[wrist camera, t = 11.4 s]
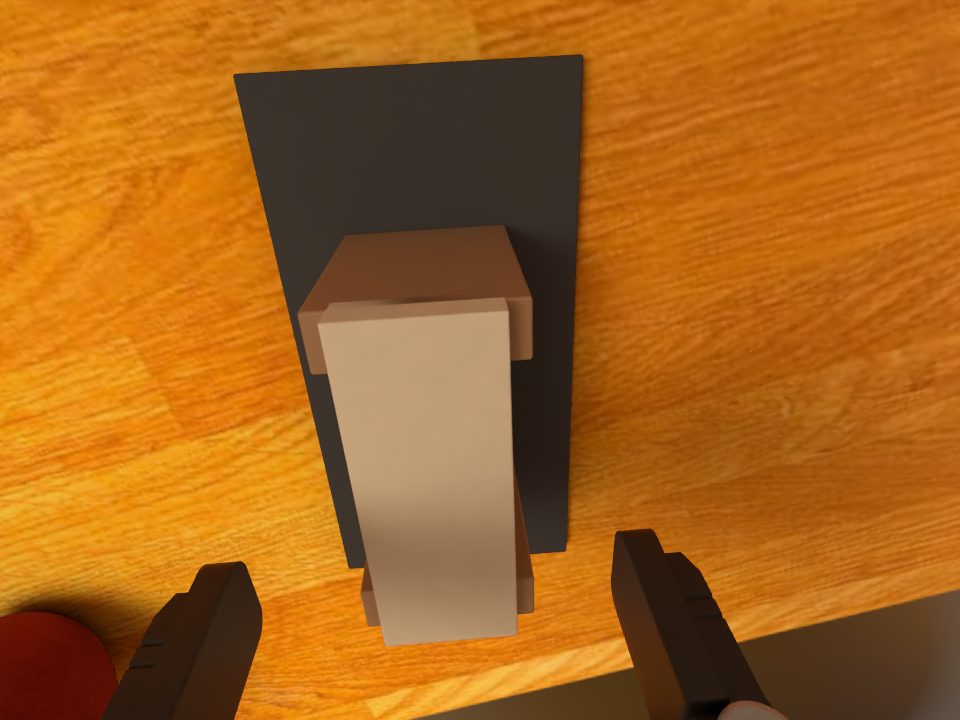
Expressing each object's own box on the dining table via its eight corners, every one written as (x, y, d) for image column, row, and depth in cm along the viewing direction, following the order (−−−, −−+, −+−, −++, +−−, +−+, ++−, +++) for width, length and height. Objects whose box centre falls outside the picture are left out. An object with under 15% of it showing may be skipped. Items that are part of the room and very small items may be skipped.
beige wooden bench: (344, 234, 18) (287, 326, 11) (504, 224, 18) (537, 308, 11) (387, 486, 22) (364, 649, 16) (511, 476, 23) (537, 634, 16)
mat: (238, 74, 16) (232, 74, 15) (579, 55, 16) (583, 54, 15) (350, 559, 25) (348, 569, 25) (563, 542, 25) (566, 551, 25)
